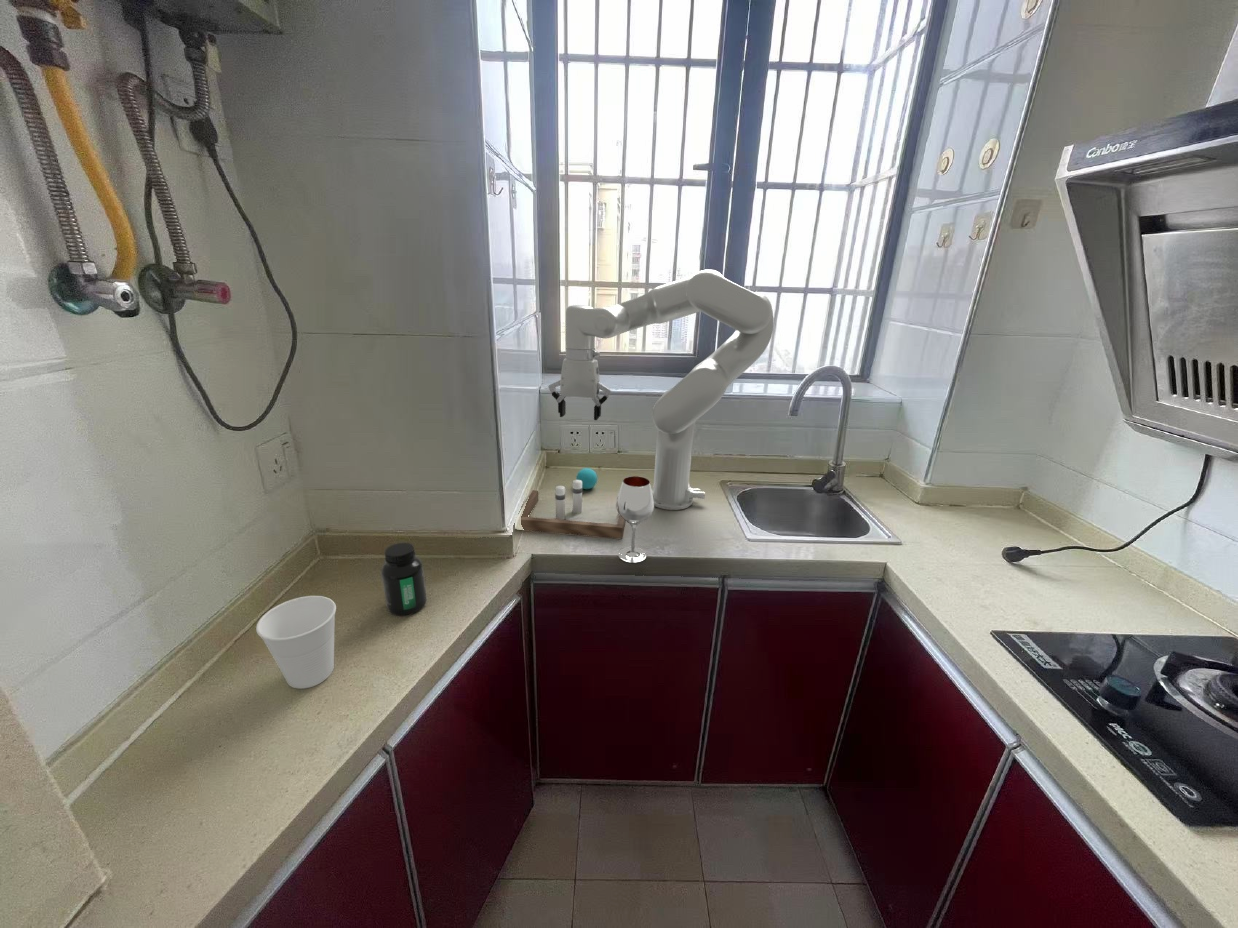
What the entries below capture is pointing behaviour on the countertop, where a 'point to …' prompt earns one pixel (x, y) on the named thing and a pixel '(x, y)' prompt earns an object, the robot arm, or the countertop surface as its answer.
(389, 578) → the supplement bottle
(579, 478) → the ball
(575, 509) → the pin
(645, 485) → the wineglass
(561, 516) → the pin
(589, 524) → the wooden u-shaped frame
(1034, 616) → the countertop surface
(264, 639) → the cup
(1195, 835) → the countertop surface
